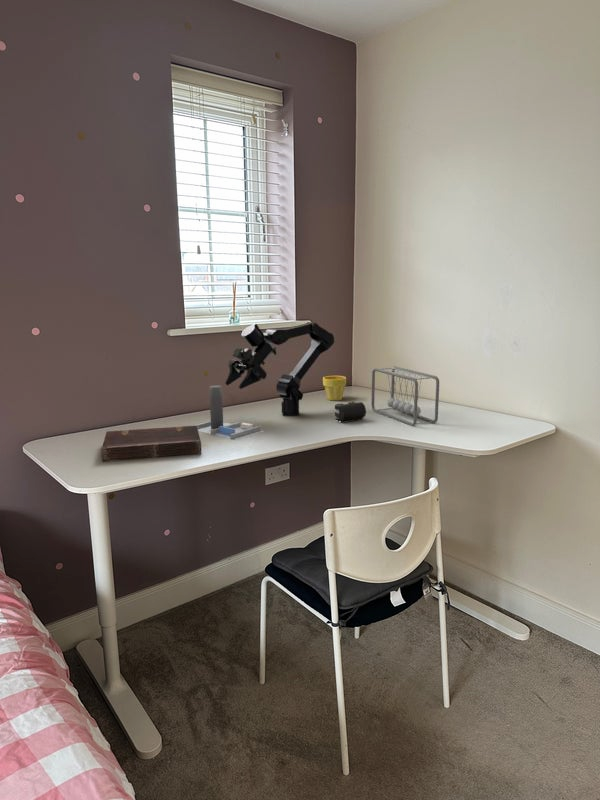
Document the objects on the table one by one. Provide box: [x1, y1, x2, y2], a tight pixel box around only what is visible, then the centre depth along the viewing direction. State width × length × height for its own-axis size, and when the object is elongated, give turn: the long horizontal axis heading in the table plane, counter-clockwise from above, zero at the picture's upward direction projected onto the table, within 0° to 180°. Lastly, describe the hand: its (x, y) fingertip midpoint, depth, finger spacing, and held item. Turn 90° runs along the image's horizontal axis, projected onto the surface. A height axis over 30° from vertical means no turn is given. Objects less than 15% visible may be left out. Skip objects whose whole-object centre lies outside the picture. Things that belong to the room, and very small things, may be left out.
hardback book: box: [101, 424, 202, 463], centre depth 181 cm, size 29×19×5 cm, turn 104°
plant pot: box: [322, 375, 347, 401], centre depth 254 cm, size 10×10×10 cm
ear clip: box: [241, 422, 254, 429], centre depth 203 cm, size 4×2×1 cm, turn 52°
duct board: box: [192, 420, 265, 441], centre depth 202 cm, size 24×14×3 cm, turn 52°
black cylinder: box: [334, 401, 367, 423], centre depth 216 cm, size 10×7×7 cm
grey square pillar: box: [208, 385, 224, 429], centre depth 203 cm, size 4×4×15 cm
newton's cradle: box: [370, 366, 440, 427], centre depth 220 cm, size 30×10×18 cm, turn 25°
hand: (232, 386), depth 208 cm, fingers open, 9 cm apart
